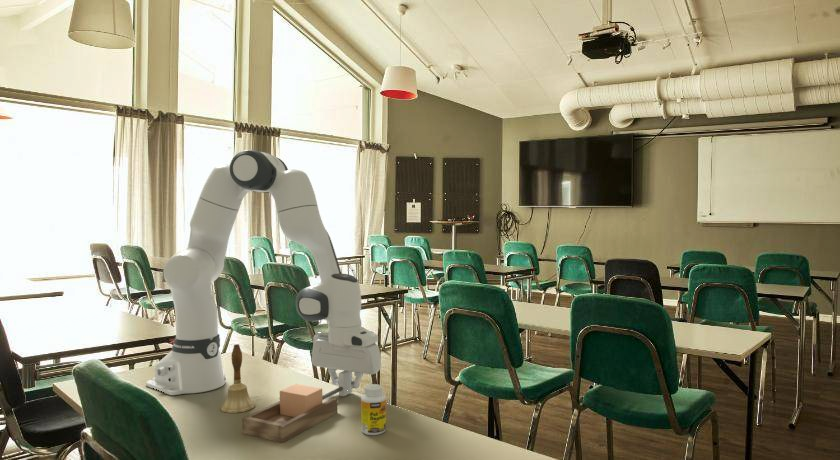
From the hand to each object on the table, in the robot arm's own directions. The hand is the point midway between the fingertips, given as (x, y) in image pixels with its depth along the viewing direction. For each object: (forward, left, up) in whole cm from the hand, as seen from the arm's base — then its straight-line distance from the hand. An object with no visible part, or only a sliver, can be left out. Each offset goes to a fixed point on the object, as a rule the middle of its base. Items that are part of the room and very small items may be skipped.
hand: (345, 386), depth 155 cm
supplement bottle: (+20, -18, -3) cm, 27 cm away
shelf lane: (0, -22, -2) cm, 22 cm away
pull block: (0, -10, -2) cm, 10 cm away
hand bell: (-19, -20, -3) cm, 28 cm away
